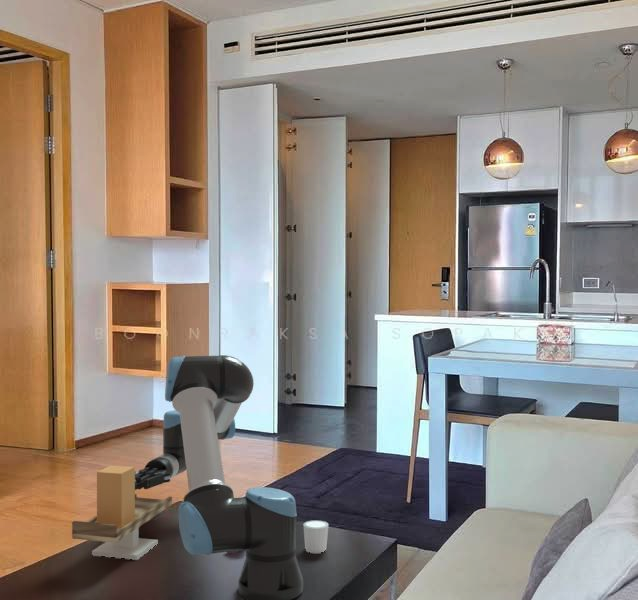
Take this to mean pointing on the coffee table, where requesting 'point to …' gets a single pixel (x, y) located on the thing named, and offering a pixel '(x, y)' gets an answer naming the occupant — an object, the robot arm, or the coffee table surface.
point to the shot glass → (315, 536)
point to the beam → (110, 532)
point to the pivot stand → (126, 547)
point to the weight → (116, 495)
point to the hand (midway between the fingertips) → (121, 491)
